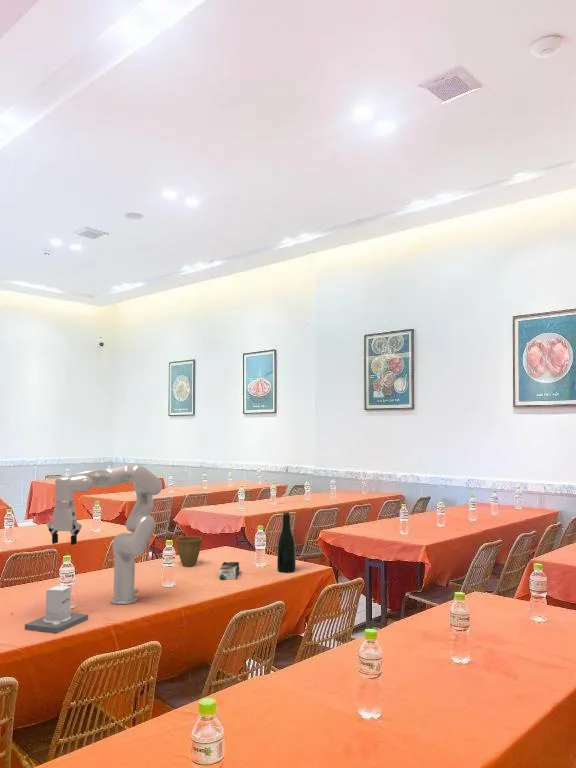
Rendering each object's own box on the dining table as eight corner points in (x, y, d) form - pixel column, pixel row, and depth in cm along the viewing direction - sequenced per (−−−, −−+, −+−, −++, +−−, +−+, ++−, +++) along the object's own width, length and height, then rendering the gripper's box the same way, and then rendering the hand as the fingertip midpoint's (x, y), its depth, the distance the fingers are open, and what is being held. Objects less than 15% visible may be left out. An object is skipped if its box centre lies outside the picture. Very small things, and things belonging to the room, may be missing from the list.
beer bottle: (274, 569, 375) (274, 512, 377) (290, 568, 379) (290, 511, 381) (281, 573, 366) (281, 514, 368) (298, 571, 370) (298, 513, 372)
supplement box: (60, 621, 269) (61, 590, 270) (45, 620, 271) (45, 589, 271) (70, 616, 276) (71, 586, 277) (55, 615, 278) (55, 585, 279)
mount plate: (57, 615, 285) (57, 608, 286) (87, 619, 280) (88, 612, 280) (24, 629, 267) (24, 621, 267) (56, 633, 261) (56, 625, 261)
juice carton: (236, 580, 350) (236, 568, 351) (218, 580, 351) (218, 569, 351) (239, 572, 370) (239, 561, 371) (222, 572, 371) (222, 561, 371)
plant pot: (176, 563, 392) (177, 536, 393) (201, 562, 394) (201, 536, 395) (175, 568, 378) (175, 540, 379) (201, 568, 379) (201, 540, 380)
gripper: (86, 504, 290) (86, 543, 289) (53, 503, 295) (53, 541, 294) (75, 506, 282) (75, 546, 282) (42, 505, 288) (42, 544, 287)
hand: (64, 543), depth 288 cm, fingers open, 9 cm apart
